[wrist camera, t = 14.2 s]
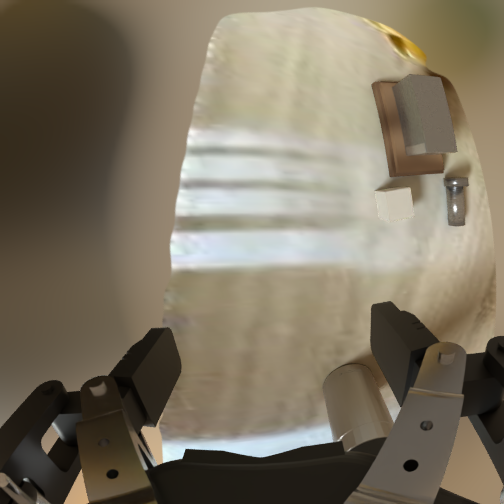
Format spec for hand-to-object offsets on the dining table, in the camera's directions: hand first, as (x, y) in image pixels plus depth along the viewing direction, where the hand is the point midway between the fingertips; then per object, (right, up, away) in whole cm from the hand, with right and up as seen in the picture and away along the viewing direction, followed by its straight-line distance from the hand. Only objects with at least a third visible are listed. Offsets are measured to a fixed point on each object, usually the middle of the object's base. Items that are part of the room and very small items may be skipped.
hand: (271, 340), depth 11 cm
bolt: (+30, +11, +26) cm, 41 cm away
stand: (+22, +21, +24) cm, 39 cm away
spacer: (+19, +10, +27) cm, 34 cm away
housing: (+22, +22, +21) cm, 37 cm away
